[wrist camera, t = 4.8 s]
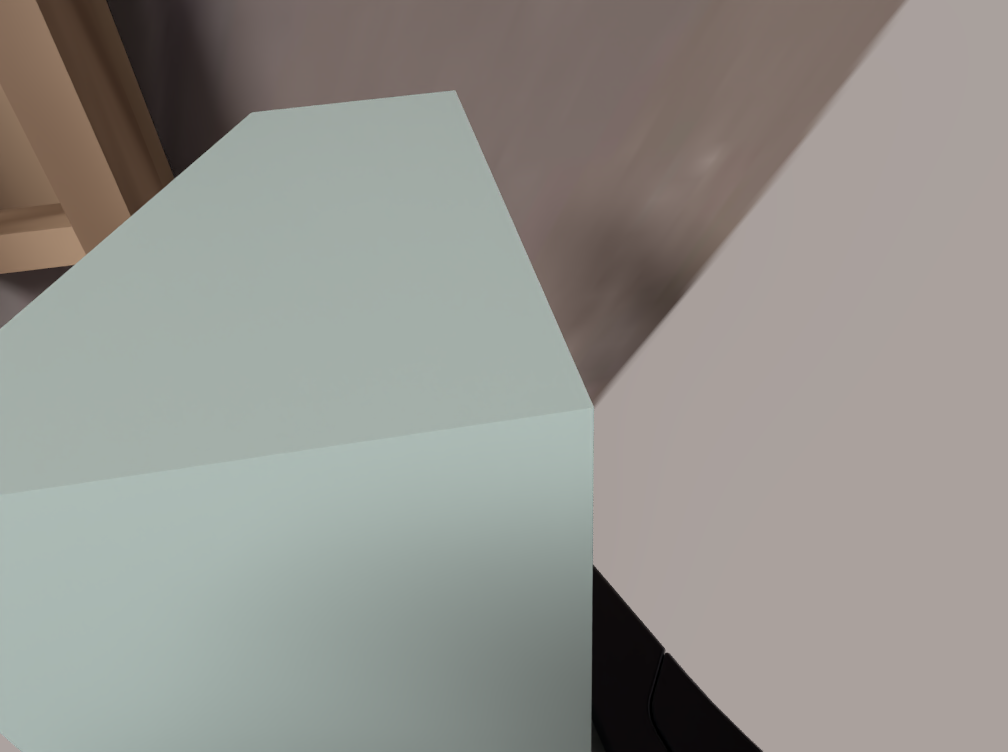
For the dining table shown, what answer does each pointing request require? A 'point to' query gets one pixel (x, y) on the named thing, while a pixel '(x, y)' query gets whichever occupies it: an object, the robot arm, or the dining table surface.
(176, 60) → the dining table surface
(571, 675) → the pale green rectangular block
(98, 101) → the wooden tray
